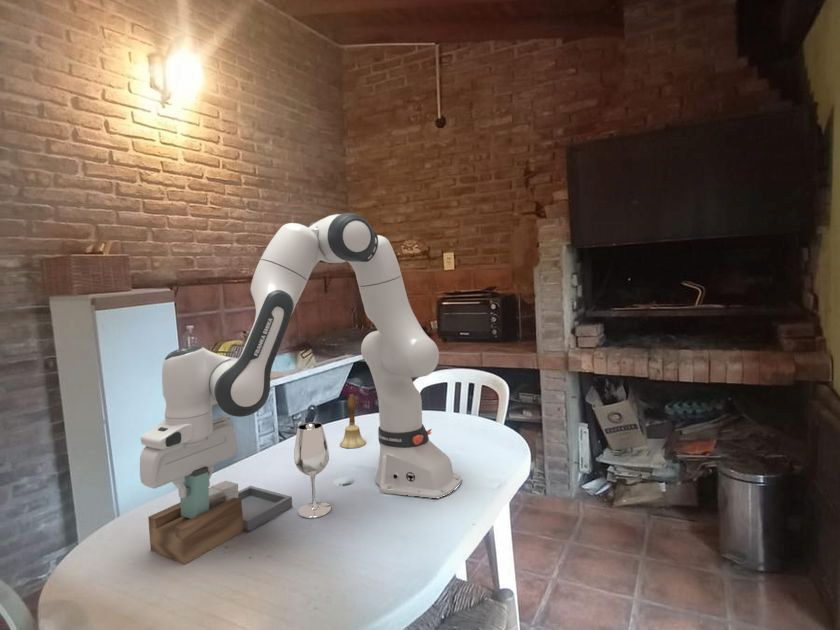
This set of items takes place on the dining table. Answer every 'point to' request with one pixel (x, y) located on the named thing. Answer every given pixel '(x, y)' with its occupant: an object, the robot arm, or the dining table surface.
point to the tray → (261, 506)
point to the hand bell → (352, 429)
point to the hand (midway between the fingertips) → (194, 491)
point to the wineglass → (311, 463)
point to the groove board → (194, 530)
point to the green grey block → (196, 494)
